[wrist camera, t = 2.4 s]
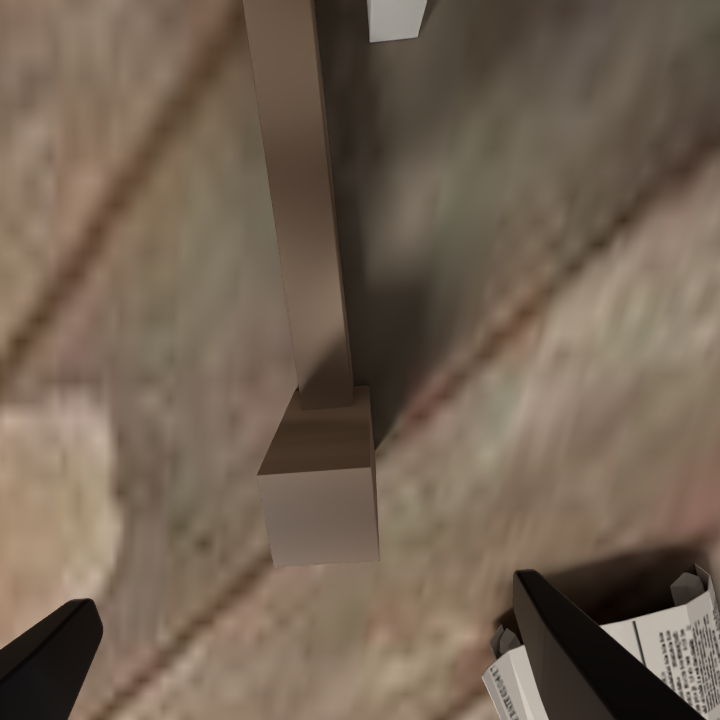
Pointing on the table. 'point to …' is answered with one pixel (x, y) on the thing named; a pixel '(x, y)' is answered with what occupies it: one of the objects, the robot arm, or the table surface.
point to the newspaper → (644, 641)
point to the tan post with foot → (310, 311)
